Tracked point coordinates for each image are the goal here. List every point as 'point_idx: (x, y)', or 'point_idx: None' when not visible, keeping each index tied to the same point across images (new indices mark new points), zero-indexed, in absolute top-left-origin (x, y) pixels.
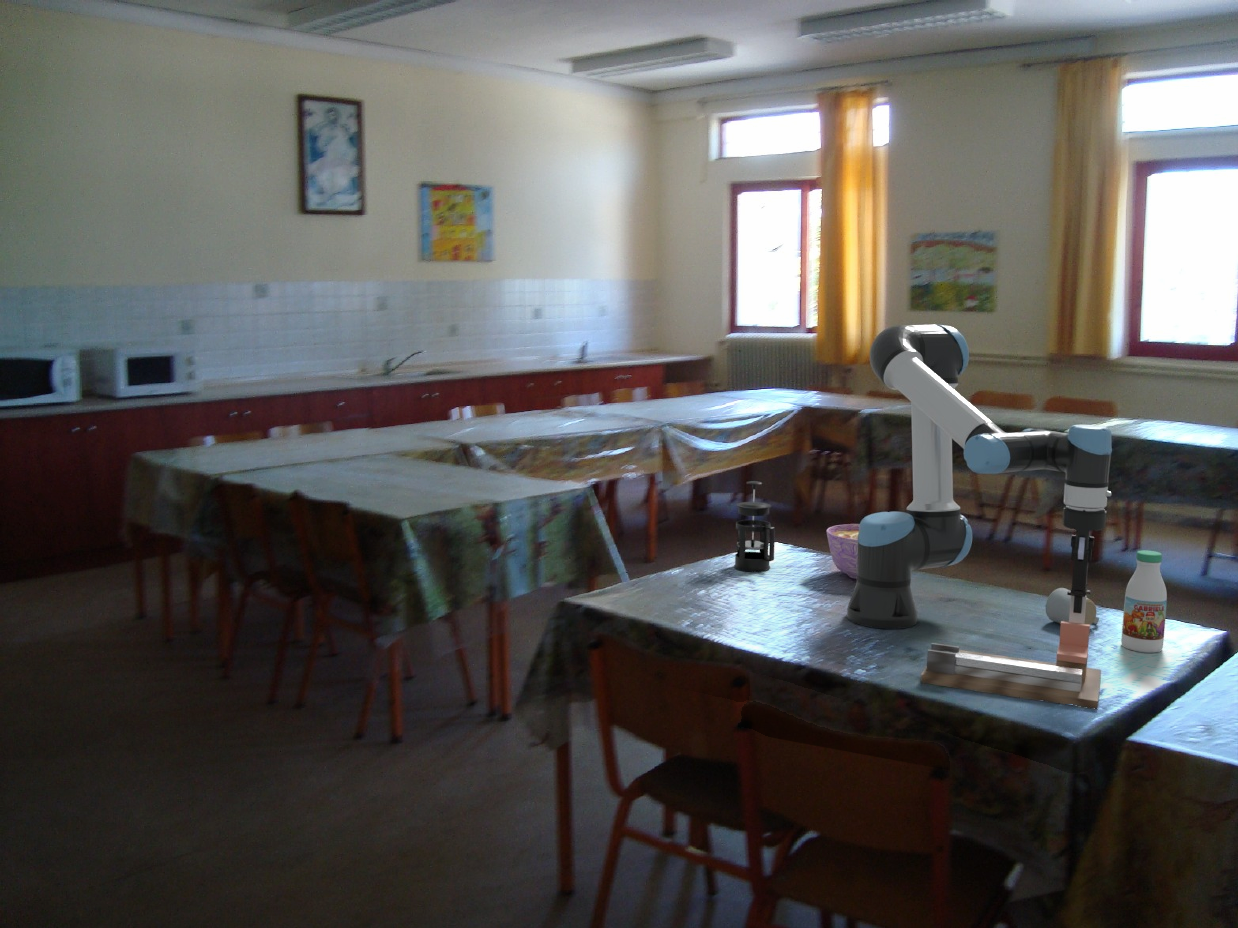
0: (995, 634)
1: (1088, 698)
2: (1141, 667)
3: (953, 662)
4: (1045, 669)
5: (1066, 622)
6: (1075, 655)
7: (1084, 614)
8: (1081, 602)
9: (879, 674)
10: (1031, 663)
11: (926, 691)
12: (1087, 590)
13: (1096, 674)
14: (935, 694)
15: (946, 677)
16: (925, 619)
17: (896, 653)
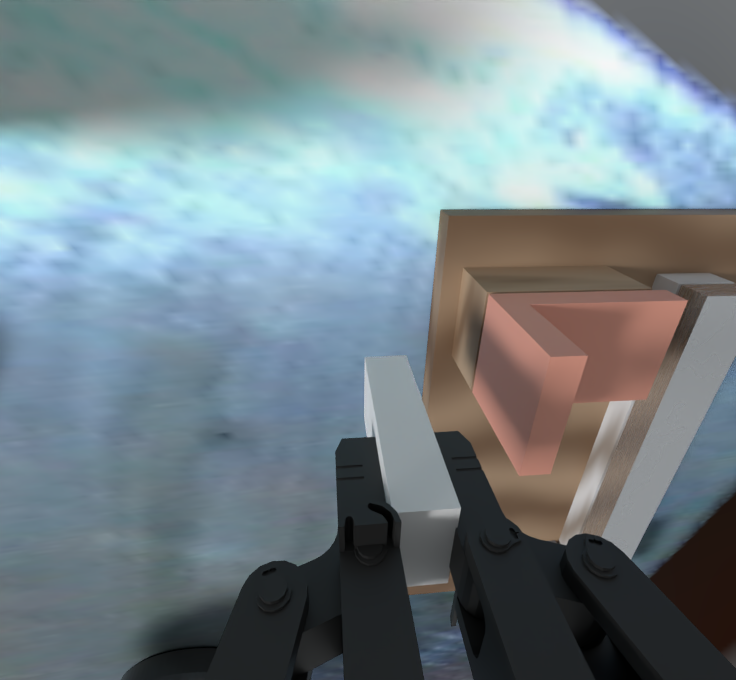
0: (144, 521)
1: None
2: (216, 25)
3: None
4: (709, 399)
5: (537, 455)
6: (661, 341)
7: (423, 408)
8: (492, 492)
9: None
10: (653, 439)
11: (655, 541)
12: (357, 541)
13: (515, 230)
14: (671, 528)
15: None
16: (134, 644)
17: (432, 621)
